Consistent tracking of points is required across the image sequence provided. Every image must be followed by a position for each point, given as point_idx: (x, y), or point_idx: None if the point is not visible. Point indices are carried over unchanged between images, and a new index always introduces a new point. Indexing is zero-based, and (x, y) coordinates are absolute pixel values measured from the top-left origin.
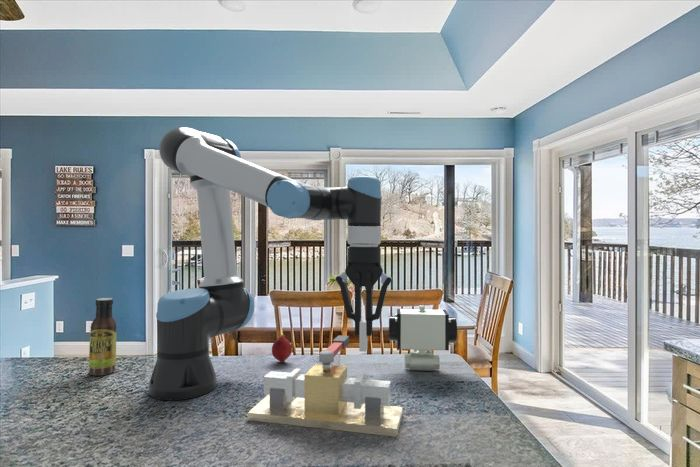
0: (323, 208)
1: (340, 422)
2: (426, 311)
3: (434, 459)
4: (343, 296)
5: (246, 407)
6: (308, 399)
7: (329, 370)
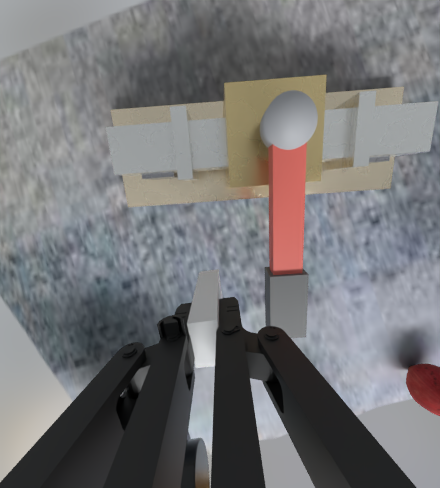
0: None
1: (214, 102)
2: None
3: (37, 52)
4: (373, 454)
5: None
6: None
7: None
